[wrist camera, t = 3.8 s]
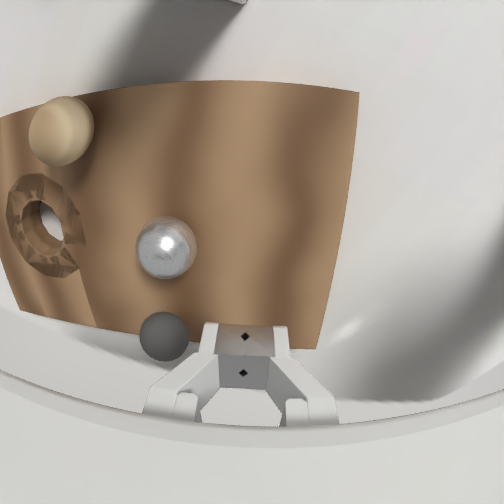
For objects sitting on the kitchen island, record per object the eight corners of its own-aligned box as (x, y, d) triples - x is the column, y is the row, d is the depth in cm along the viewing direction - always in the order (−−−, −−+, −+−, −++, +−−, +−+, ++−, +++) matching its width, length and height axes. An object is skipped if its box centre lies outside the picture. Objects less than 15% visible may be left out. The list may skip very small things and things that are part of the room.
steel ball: (201, 208, 17) (186, 233, 14) (203, 261, 19) (191, 294, 16) (145, 206, 17) (121, 230, 14) (151, 257, 19) (131, 288, 16)
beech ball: (106, 90, 14) (66, 91, 10) (108, 155, 16) (71, 172, 12) (55, 100, 14) (13, 107, 10) (59, 160, 16) (19, 177, 12)
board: (347, 93, 16) (359, 92, 13) (312, 327, 24) (315, 349, 22) (-5, 121, 16) (-25, 127, 14) (32, 296, 25) (20, 310, 22)
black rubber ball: (191, 303, 20) (179, 339, 17) (195, 339, 22) (185, 374, 19) (144, 299, 20) (127, 331, 17) (152, 334, 22) (138, 367, 19)
